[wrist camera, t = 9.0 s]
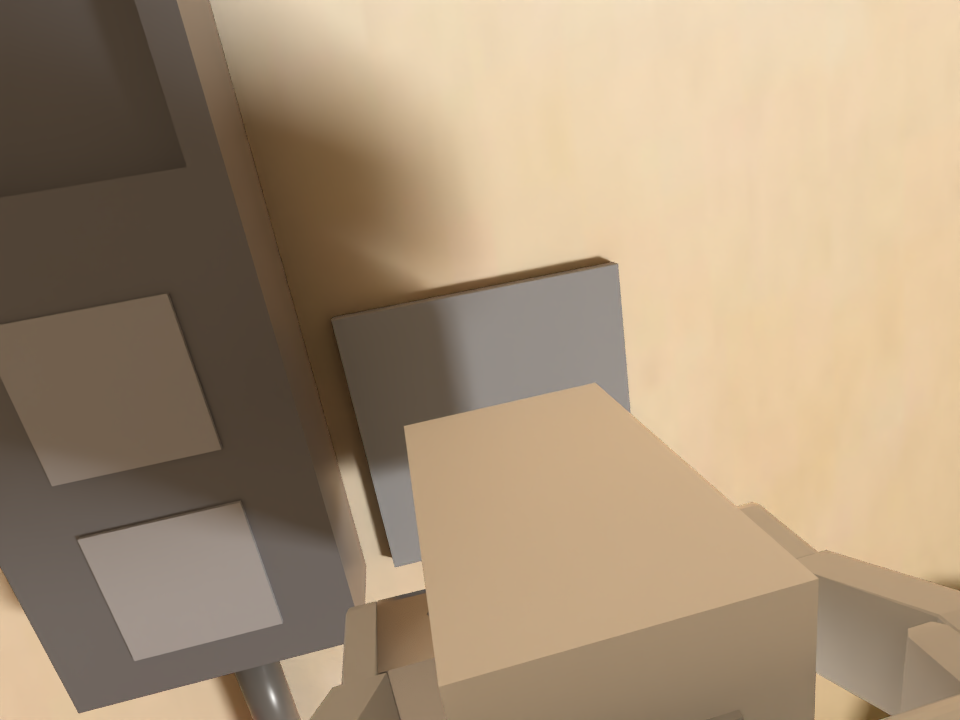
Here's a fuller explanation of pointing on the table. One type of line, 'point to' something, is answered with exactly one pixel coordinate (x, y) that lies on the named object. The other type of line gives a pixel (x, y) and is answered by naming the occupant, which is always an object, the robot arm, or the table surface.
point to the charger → (599, 574)
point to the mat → (473, 366)
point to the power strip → (154, 370)
